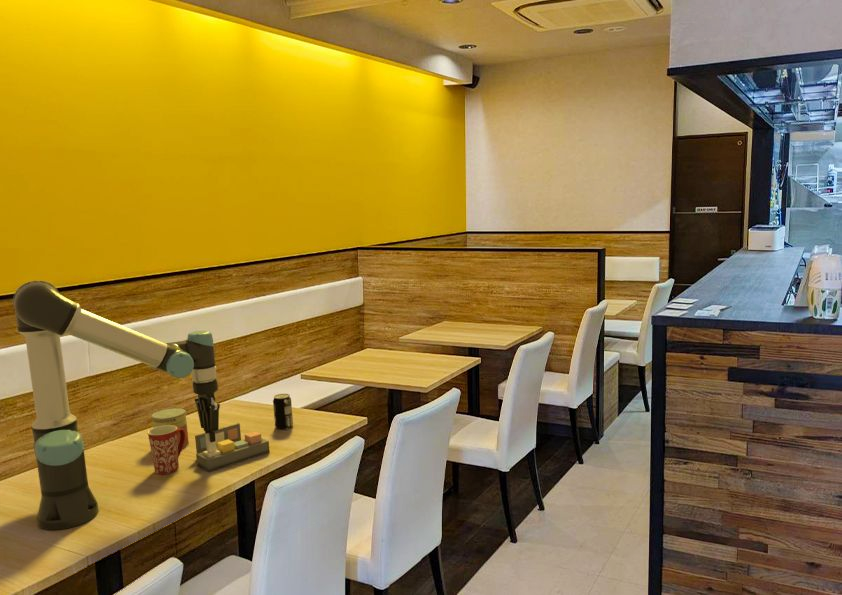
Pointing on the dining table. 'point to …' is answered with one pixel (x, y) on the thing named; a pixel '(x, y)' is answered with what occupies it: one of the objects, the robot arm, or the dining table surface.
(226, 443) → the key mustard
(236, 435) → the placard
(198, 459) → the frame
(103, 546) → the dining table surface
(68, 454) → the robot arm
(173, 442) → the mug
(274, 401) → the beverage can
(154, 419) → the canned food
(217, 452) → the key ivory
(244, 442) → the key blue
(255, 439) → the key terracotta
